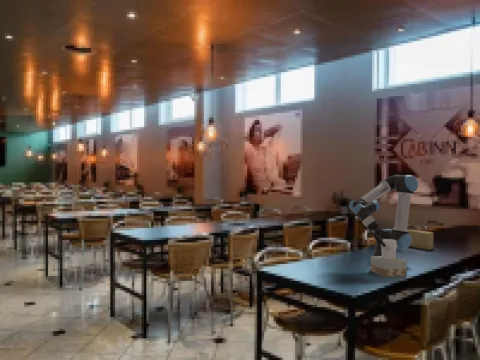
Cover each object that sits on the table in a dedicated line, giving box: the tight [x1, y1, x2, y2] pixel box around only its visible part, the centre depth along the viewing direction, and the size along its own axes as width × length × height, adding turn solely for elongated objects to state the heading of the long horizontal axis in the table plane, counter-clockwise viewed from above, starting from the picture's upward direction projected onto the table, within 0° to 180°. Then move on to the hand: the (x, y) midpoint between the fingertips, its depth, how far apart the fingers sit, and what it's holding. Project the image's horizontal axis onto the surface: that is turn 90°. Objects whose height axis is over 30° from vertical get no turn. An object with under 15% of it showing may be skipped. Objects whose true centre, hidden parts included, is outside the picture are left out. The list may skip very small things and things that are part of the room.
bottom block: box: [369, 263, 408, 278], centre depth 270 cm, size 16×16×5 cm
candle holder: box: [381, 239, 397, 260], centre depth 270 cm, size 10×10×12 cm
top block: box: [370, 255, 408, 269], centre depth 270 cm, size 16×16×5 cm
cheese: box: [407, 229, 434, 251], centre depth 368 cm, size 22×10×15 cm, turn 43°
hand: (392, 249), depth 268 cm, fingers open, 13 cm apart
